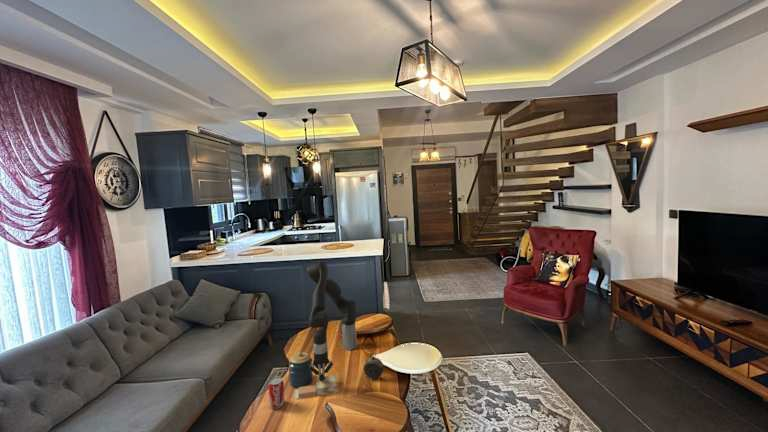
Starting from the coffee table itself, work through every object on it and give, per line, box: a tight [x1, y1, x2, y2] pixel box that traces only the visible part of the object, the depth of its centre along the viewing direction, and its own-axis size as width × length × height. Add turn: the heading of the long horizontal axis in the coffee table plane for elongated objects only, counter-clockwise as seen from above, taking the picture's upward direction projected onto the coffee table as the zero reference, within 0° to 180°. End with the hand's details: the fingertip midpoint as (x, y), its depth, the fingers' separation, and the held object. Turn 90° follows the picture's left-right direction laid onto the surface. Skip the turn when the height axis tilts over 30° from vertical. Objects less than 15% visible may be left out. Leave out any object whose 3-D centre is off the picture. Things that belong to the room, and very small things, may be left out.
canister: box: [288, 350, 314, 389], centre depth 180 cm, size 13×13×18 cm
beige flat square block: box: [314, 374, 339, 397], centre depth 174 cm, size 11×10×4 cm
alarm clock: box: [363, 351, 384, 382], centre depth 180 cm, size 11×5×16 cm, turn 77°
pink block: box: [298, 384, 317, 399], centre depth 170 cm, size 9×6×2 cm, turn 104°
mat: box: [294, 388, 317, 400], centre depth 171 cm, size 11×8×1 cm
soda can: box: [268, 376, 285, 410], centre depth 161 cm, size 7×7×13 cm
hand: (322, 380), depth 173 cm, fingers closed
